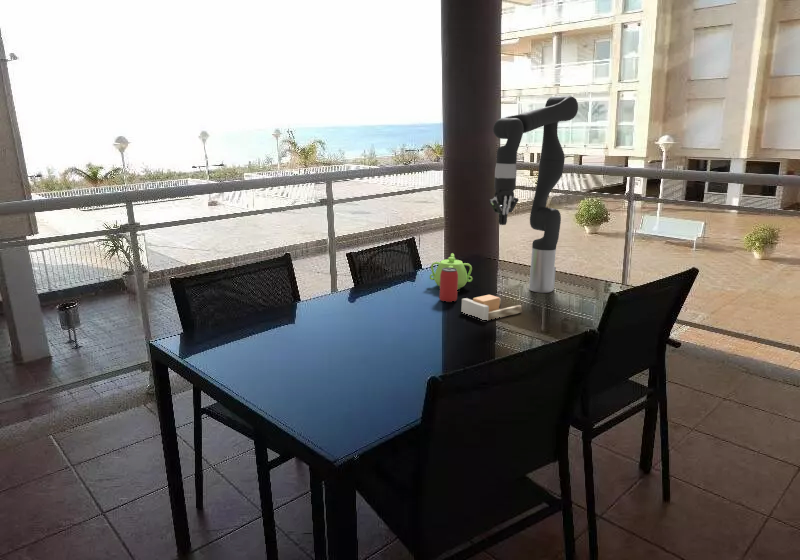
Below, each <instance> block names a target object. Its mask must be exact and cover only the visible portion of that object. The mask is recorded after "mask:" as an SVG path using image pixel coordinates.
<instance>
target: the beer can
mask: <svg viewBox="0 0 800 560" xmlns="http://www.w3.org/2000/svg"><path fill="white" fill-rule="evenodd" d="M439 289H440V290H439V300H440V301H441V302H444V301H446V302H445V303H453V302H452V301H454V302H456V301H457V300H458V291H457V290H458V273H457V269H455V268H443V269H442V271H441V274H440V286H439Z"/></svg>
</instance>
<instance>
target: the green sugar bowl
mask: <svg viewBox="0 0 800 560" xmlns="http://www.w3.org/2000/svg"><path fill="white" fill-rule="evenodd" d="M435 265H437V267H436V268H435V269H436V270H435V269H434V266H435ZM465 266H466V267H469V271H468V273H467V269H466V267H465ZM443 268H455V269H457V273H458V289H461V288H464V287H465V285H466V284H467V282H468V283H471V282H472V281H473V276H471V273H472V270H473V267H472V265H471V264H470V263H468V262H467V263H466V262H464V263H463V261H462V260H459V259H456V257H455V254H454V253H453V252H452V253H450V256H449V257H447V259H442V260H440V261H433V262H432V263H431V264H430V270H431V274H430V275H429V279H430V280H431V281H434V283H435V284H436V285H437V286H438V287H440V274H441V271H442V269H443Z"/></svg>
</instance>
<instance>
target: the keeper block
mask: <svg viewBox="0 0 800 560" xmlns="http://www.w3.org/2000/svg"><path fill="white" fill-rule="evenodd" d="M500 299H501V298H500V296H496V295H493V294H486V295H481V296H476V297H473V298H472V300H473V301H476V302H479V303H481V304H484V305H487V306H489V312H490V311H494V310H499V309H500V306H499V304H500Z"/></svg>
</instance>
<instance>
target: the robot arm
mask: <svg viewBox="0 0 800 560" xmlns="http://www.w3.org/2000/svg"><path fill="white" fill-rule="evenodd" d="M578 110H579V103H578V101H577V99H576V98H575V97H574V96H572V95H554V96H552V95H551V96H550V97H549V98H547V100H546V103H545V105H544V106H543V107H539V108H533V109H529V110H527V111H524V112H521V113H518V114H514V115H508V116H504V117H501V118H498V119H497V120H496V121H495V122H494V125H493V128H492V130H493V134H494V136H495V137H497V138H498V139H501V140H506V143H505V144H504V145H501V146H498V147H497V150H496V161H495V169H494V183H493V184H494V185H493V188H494V190H495V192H494V195H493V198H491V199H489V200H488V202H489V205H490V206H491V208H492V210H493V212H494V213H495V214H498V224H499V225H500V226H505V225H507V223H508V214H509V213H512V212H513V211H514V209H515V207H516V206H517V203H518V202H519V198H516V197H515V192H514V191H515V190H516V185H517V170H518V169H517V157H518V150H519V147H520V145H521V141H522V138H523V134H526V133H529V132H531V131H534V130H536V129H539V128H541V127H543V132H542V133H543V135H542V143H541V144H542V145H541V151H540V157H539V163H538V164H539V165H538V171H537V173H538V174H537V179H536V180H537V181H536V187H535V191H534V192H535V193H534V196H533V197H534V198H533V200H532V206H531V210H530V215H529V225H530V227H531V228H532V229H533V230H536V231H540V232H543V236H542V237H541V238H536V239H534V240H533V241H532V244H531V257H530V259H531V260H530V261H531V262H530V273H529V286H528V289H529V291H532V292H535V293H543V294H546V293H547V294H548V293H552V292H553V291H554V290H555V284H556V283H555V282H556V269H557V267H556V266H555V264H556V253H557V245H558V242H559V236H560V230H561V222H562V220H561V219H562V216H561V212H560V210H559V209H557V208H552V207H547V202H548V199H549V195H550V193H551V192H552V190H553V189H554V188H555V186H556V185H557V184H558V182H560V179H562V176H563V172H564V166H565V157H566V156H565V153H564V150H563V149H564V148H563V147H562V145H561V142H560V139H559V136H558V128H559V127H558V125H559V122H569V121H571V120H573V119H574V118H575V117H576V116H577V114H578Z"/></svg>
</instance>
